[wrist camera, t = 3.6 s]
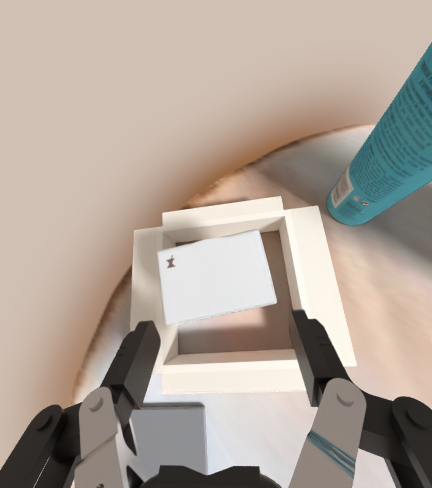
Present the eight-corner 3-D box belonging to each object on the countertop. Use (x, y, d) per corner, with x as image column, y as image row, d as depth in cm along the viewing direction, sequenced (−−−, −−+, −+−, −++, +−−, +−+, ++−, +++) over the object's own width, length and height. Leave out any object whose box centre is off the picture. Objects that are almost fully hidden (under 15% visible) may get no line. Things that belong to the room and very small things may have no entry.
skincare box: (206, 315, 22) (160, 328, 11) (200, 276, 23) (152, 248, 12) (264, 304, 21) (280, 304, 10) (254, 264, 23) (258, 224, 11)
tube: (391, 225, 22) (1167, -208, 3) (346, 242, 22) (844, -74, 4) (352, 169, 24) (682, -264, 6) (312, 186, 24) (505, -182, 6)
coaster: (204, 406, 20) (203, 409, 19) (211, 535, 17) (209, 543, 16) (116, 407, 21) (112, 410, 20) (110, 529, 18) (105, 536, 18)
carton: (304, 209, 23) (314, 191, 20) (339, 372, 19) (362, 389, 15) (151, 229, 26) (134, 216, 22) (149, 379, 21) (127, 395, 17)
